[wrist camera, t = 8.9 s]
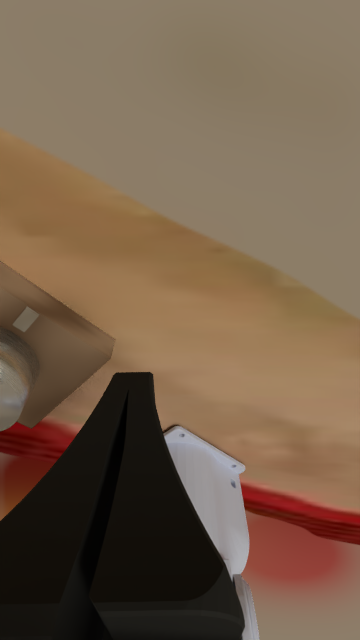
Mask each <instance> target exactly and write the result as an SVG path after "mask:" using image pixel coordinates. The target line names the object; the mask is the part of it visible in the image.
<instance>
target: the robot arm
mask: <svg viewBox="0 0 360 640" xmlns="http://www.w3.org/2000/svg"><path fill="white" fill-rule="evenodd" d="M244 471H245V466H244V465H243V464H242V463H240V462H238V461H237V460H235V459H233V458H232V457H230V456H229V455H227V454H225V453H224V452H222V451H220V450H219V449H217V448H215V447H214V446H212V445H210V444H209V443H207V442H205V441H204V440H202V439H201V438H199V437H197V436H196V435H194V434H192V433H191V432H189V431H187V430H186V429H184V428H182V427H180V426H175V427H173V428H171V429H170V430H168V431H167V432H165V433H164V434H163V431H162V428H161V425H160V421H159V417H158V413H157V410H156V405H155V393H154V380H153V374H152V373H150V372H126V373H115V374H114V375H113V377H112V379H111V381H110V383H109V385H108V387H107V389H106V391H105V392H104V394H103V396H102V397H101V399H100V401H99V403H98V404H97V406H96V407H95V409H94V410H93V412H92V414H91V415H90V417H89V418H88V420H87V421H86V423H85V424H84V426H83V427H82V429H81V430H80V431H79V433H78V434H77V436H76V437H75V438H74V440H73V441H72V442H71V444H70V445H69V446H68V448H67V449H66V450H65V452H64V453H63V454H62V455H61V457H60V458H59V459H58V460H57V462H56V463H55V464H54V465H53V466H52V468H51V469H50V470H49V471H48V472H47V473H46V475H45V476H44V477H43V478H42V479H41V480H40V481H39V482H38V483H37V485H36V486H35V487H34V488H33V489H32V490H31V491H30V492H29V493H28V494H27V495H26V496H25V497H24V499H22V501H21V502H20V503H18V504H17V505H16V506H15V507H14V508H13V509H12V510H11V511H10V512H9V513H8V514H7V515H6V516H5V517H4V518H3V519H2V520H1V521H0V640H260V639H259V632H258V626H257V619H256V614H255V608H254V603H253V598H252V593H251V590H250V586H249V584H247V582H246V581H245V580H244V579H243V578H242V576H241V575H240V574H241V573H242V571H243V569H244V567H245V565H246V561H247V558H248V553H249V533H248V528H247V521H246V515H245V510H244V504H243V498H242V492H241V486H240V480H239V474H240V473H242V472H244Z"/></svg>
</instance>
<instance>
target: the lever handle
mask: <svg viewBox="0 0 360 640" xmlns="http://www.w3.org/2000/svg"><path fill="white" fill-rule="evenodd" d="M39 374H40V363H39V360H38V357H37V355H36V354H35V352H34V351H33V349H32V348H31V347H30V346H29V345H28V344H27V343H26V342H25V341H24V340H23V339H22V338H20V337H19V336H17V335H16V334H14V333H12V332H11V331H9V330H7V329H4V328H2V327H0V431H3V430H5V429H7V428H9V427H11V426H12V425H13V424H14V423H15V422H16V421H17V420H18V418H19V416H20V414H21V412H22V410H23V408H24V406H25V404H26V402H27V400H28V398H29V396H30V394H31V392H32V389H33V387H34V385H35V383H36V381H37V379H38V377H39Z"/></svg>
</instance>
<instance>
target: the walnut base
mask: <svg viewBox="0 0 360 640" xmlns="http://www.w3.org/2000/svg"><path fill="white" fill-rule="evenodd" d="M0 327H2V328H4V329H7V330H9V331H11V332H12V333H14V334H16V335H17V336H19V337H20V338H22V339H23V340H24V341H25V342H26V343H27V344H28V345H29V346H30V347H31V348H32V349H33V351H34V352H35V354H36V355H37V357H38V360H39V363H40V374H39V377H38V379H37V381H36V383H35V385H34V387H33V389H32V392H31V394H30V396H29V398H28V400H27V402H26V404H25V406H24V408H23V410H22V412H21V414H20V416H19V418H18V420H17V421H16V422H19V423H21V424H23V425H25V426H27V427H29V428H31V429H32V428H33V427H34V426H35V425H36V424H37V423H38V422H40V421H41V420H42V419H43V418H44V417H45V416H46V415H47V414H49V413H50V412H51V411H52V410H53V409H54V408H55V407H56V406H58V405H59V404H60V403H61V402H62V401H63V400H64V399H66V398H67V397H68V396H69V395H70V394H71V393H72V392H73V391H75V390H76V389H77V388H78V387H79V386H80V385H81V384H83V383H84V382H85V381H86V380H87V379H88V378H89V377H90V376H92V375H93V374H94V373H95V372H96V371H97V370H98V369H99V368H101V367H102V366H103V365H104V364H105V363H106V362H107V361H109V360H110V358H111V354H112V350H113V346H114V342H115V339H113V338H112V337H110V336H109V335H108V334H106V333H105V332H103V331H102V330H100V329H99V328H97V327H96V326H94V325H93V324H91V323H90V322H89V321H87V320H86V319H84V318H83V317H81V316H80V315H78V314H77V313H75V312H74V311H72V310H71V309H69V308H68V307H67V306H65V305H64V304H62V303H61V302H59V301H58V300H56V299H55V298H53V297H52V296H50V295H49V294H48V293H46V292H45V291H43V290H42V289H40V288H39V287H37V286H36V285H34V284H33V283H31V282H30V281H28V280H27V279H26V278H24V277H23V276H21V275H20V274H18V273H17V272H15V271H14V270H12V269H11V268H9V267H8V266H6V265H5V264H4V263H2V262H1V261H0Z"/></svg>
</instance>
